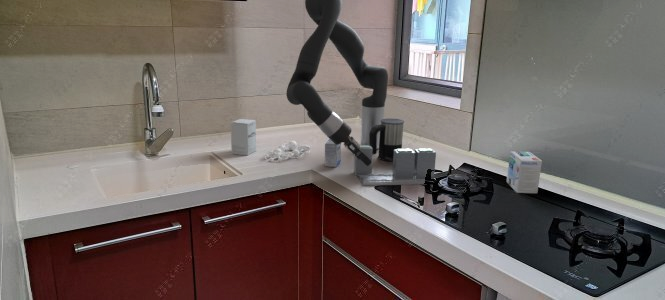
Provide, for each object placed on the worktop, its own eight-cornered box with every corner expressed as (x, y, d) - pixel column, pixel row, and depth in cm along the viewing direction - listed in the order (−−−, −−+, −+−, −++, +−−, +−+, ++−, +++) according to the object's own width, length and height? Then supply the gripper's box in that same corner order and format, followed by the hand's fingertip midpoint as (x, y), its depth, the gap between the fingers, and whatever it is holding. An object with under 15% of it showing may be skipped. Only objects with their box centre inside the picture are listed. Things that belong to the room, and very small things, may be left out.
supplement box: (248, 155, 183) (247, 123, 179) (231, 153, 185) (229, 121, 182) (257, 151, 189) (256, 119, 186) (240, 149, 192) (239, 118, 188)
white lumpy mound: (281, 169, 172) (281, 158, 171) (254, 158, 180) (254, 148, 179) (316, 156, 186) (317, 146, 185) (290, 147, 195) (290, 137, 193)
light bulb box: (505, 181, 159) (509, 150, 156) (526, 182, 159) (530, 151, 156) (516, 193, 149) (520, 160, 146) (538, 193, 149) (543, 160, 146)
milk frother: (388, 153, 190) (390, 116, 186) (421, 162, 179) (424, 123, 175) (364, 160, 180) (366, 121, 176) (397, 170, 169) (400, 129, 165)
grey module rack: (358, 177, 160) (360, 147, 158) (428, 176, 163) (430, 146, 160) (363, 185, 153) (364, 153, 150) (435, 184, 156) (438, 152, 153)
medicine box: (336, 167, 171) (337, 144, 168) (324, 166, 172) (324, 143, 169) (340, 161, 178) (341, 138, 176) (329, 160, 179) (329, 138, 177)
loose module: (353, 172, 166) (354, 145, 163) (369, 171, 166) (370, 144, 164) (355, 175, 162) (356, 147, 160) (371, 175, 163) (372, 147, 160)
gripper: (345, 124, 152) (380, 159, 156) (339, 115, 165) (371, 147, 170) (328, 140, 152) (363, 175, 157) (324, 130, 166) (356, 162, 171)
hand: (367, 160), depth 163 cm, fingers open, 6 cm apart
